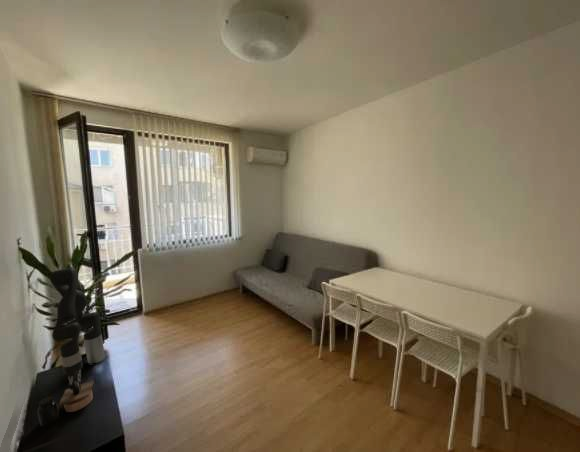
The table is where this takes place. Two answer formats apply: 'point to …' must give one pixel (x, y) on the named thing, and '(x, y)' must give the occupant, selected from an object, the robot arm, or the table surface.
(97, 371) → the table surface
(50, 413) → the supplement bottle
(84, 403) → the bowl
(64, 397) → the lid
